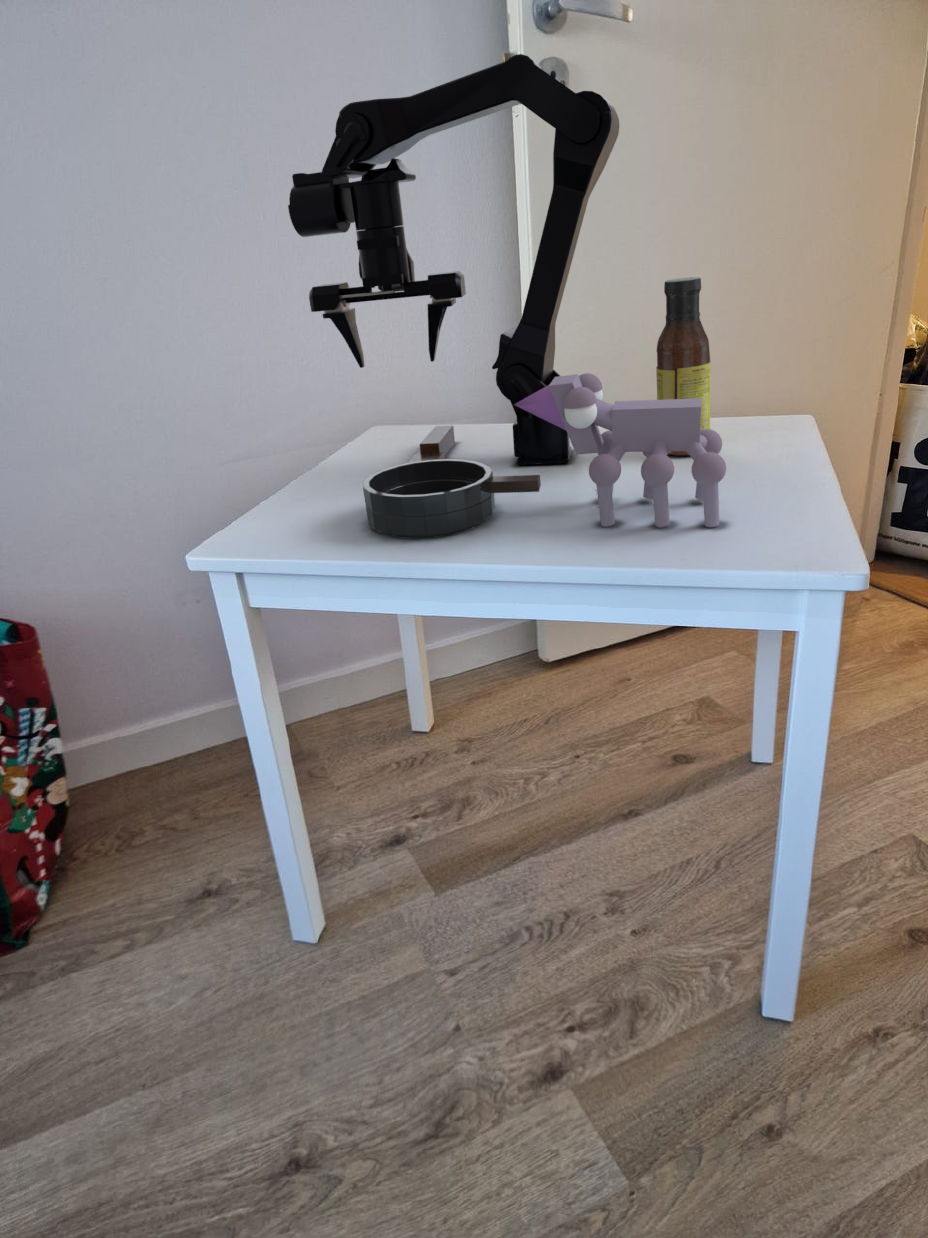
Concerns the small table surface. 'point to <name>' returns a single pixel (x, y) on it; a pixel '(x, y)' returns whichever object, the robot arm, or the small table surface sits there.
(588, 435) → the toy sheep
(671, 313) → the sauce bottle
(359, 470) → the small table surface
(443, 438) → the fork
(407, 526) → the pan
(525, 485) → the pan handle
